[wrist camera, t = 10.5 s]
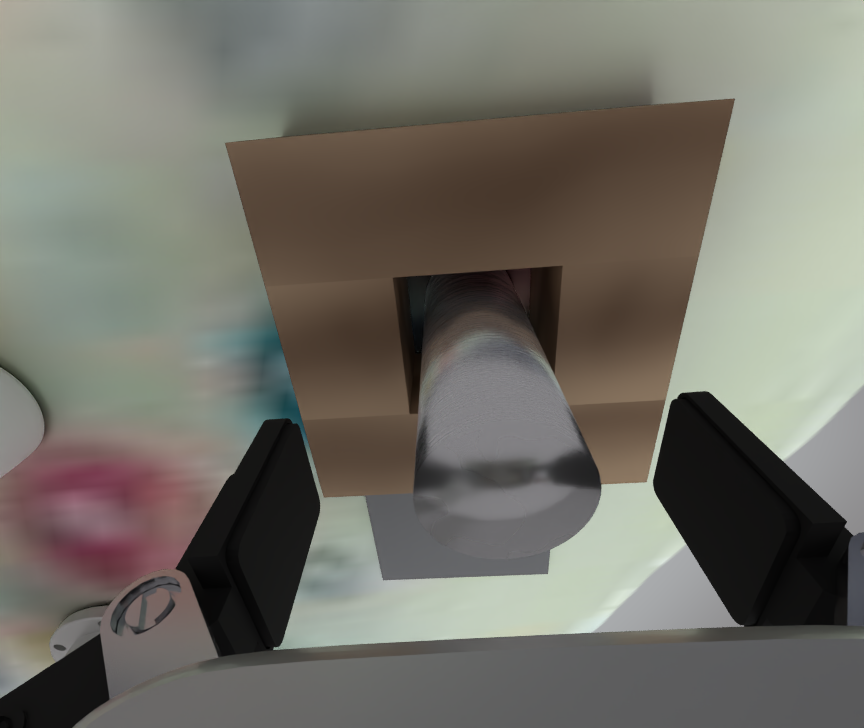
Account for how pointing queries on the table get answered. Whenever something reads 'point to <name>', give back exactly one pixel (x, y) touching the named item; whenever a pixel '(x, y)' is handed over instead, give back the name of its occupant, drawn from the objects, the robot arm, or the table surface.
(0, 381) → the water bottle
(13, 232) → the table surface
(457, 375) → the steel peg
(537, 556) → the rubber mat
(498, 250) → the brown peg hole board
